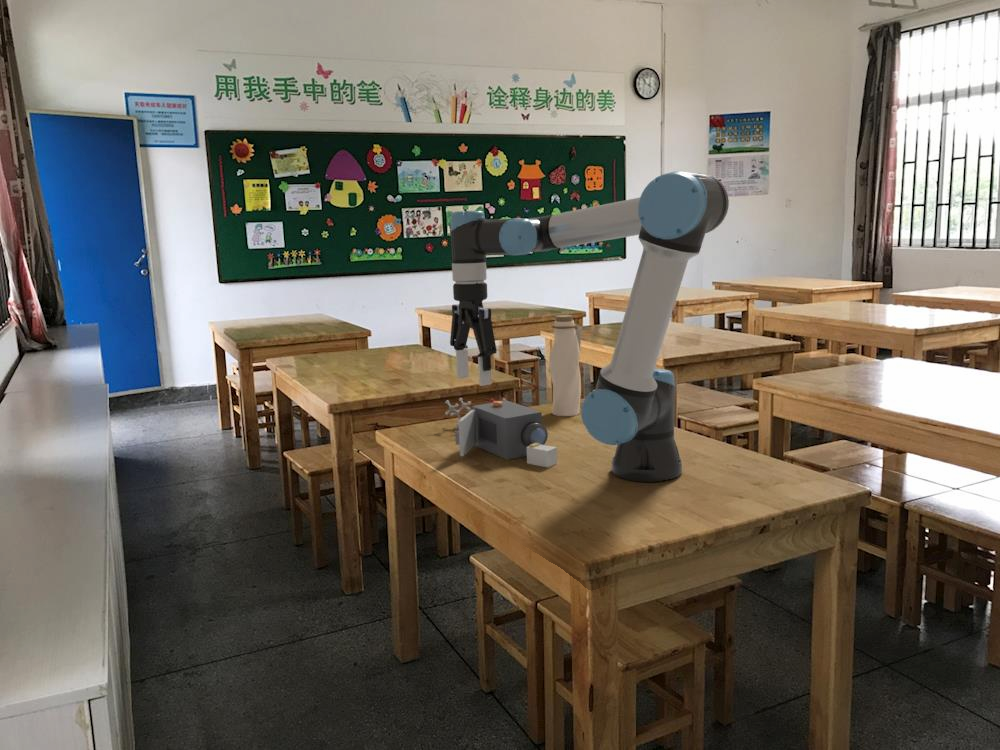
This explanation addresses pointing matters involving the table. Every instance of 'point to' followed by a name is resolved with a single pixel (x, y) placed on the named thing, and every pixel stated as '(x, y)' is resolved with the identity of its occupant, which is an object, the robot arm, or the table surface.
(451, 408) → the molecular model
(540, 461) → the block
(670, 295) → the robot arm
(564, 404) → the water bottle
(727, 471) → the table surface
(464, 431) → the side door
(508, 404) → the grey box
